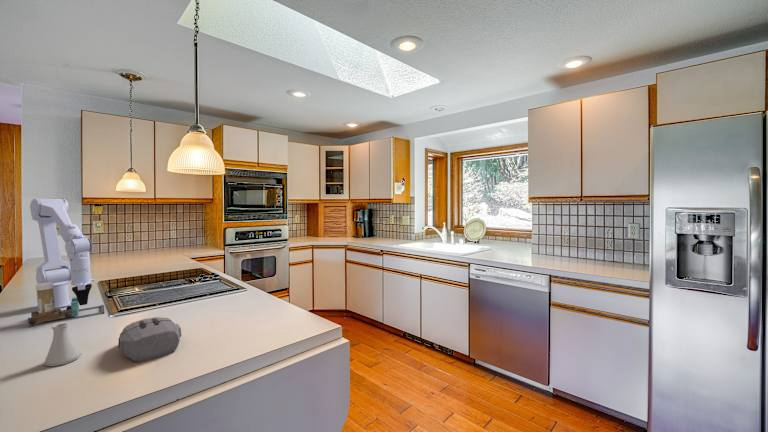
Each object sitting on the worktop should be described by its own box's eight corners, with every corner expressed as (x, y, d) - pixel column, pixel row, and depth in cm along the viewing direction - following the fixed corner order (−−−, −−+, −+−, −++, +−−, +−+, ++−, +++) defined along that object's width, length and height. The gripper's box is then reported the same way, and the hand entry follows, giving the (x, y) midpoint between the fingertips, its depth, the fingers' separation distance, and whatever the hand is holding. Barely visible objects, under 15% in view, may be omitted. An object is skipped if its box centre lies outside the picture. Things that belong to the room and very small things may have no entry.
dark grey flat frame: (33, 318, 125) (33, 316, 125) (103, 306, 138) (103, 304, 138) (29, 327, 117) (29, 325, 117) (104, 313, 130) (104, 311, 130)
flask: (60, 355, 96) (57, 320, 96) (87, 353, 97) (84, 319, 96) (36, 368, 89) (33, 331, 88) (66, 366, 90) (63, 329, 89)
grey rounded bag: (187, 350, 99) (171, 330, 113) (186, 322, 98) (169, 306, 113) (122, 369, 88) (113, 344, 103) (120, 338, 88) (111, 318, 102)
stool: (32, 316, 125) (31, 303, 125) (78, 308, 133) (77, 296, 133) (27, 325, 117) (26, 310, 117) (77, 315, 125) (76, 302, 125)
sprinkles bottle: (54, 320, 123) (51, 283, 122) (36, 323, 121) (33, 286, 120) (57, 316, 127) (54, 281, 126) (40, 319, 124) (37, 283, 124)
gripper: (94, 271, 126) (97, 306, 127) (94, 265, 137) (96, 297, 138) (68, 274, 122) (71, 311, 123) (70, 267, 133) (73, 301, 134)
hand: (83, 304), depth 130 cm, fingers closed, pressing on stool
